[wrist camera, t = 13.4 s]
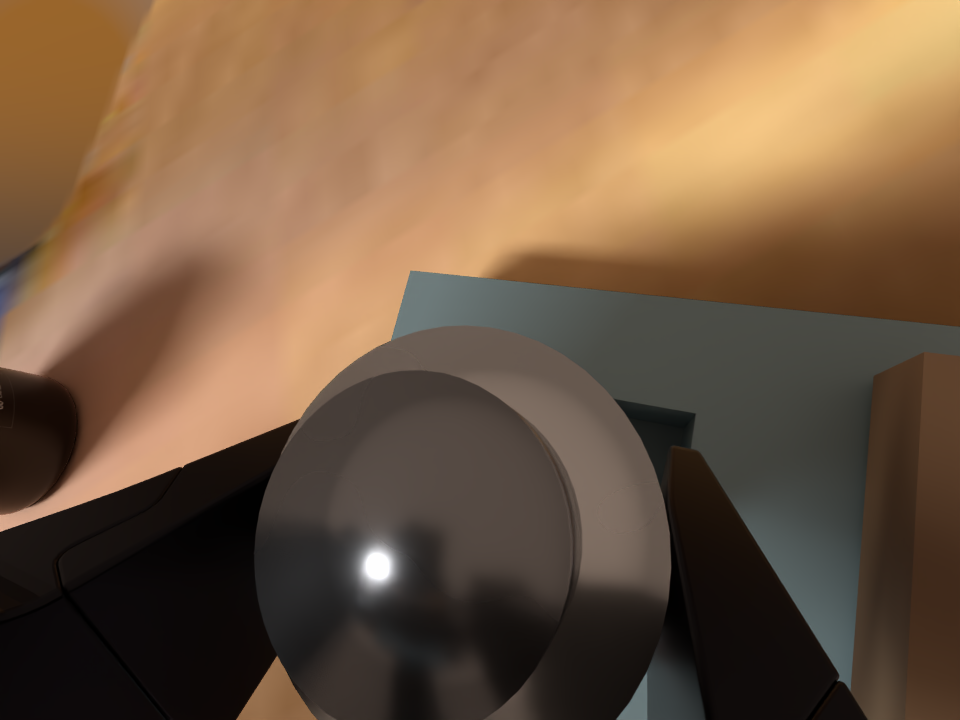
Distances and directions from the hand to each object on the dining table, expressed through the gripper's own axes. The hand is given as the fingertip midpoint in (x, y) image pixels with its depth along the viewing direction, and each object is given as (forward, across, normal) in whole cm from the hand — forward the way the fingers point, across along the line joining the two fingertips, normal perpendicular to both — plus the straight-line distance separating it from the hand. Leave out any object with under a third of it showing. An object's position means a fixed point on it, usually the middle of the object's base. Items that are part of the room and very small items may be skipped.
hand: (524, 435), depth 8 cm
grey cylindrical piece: (+4, 0, +6) cm, 7 cm away
